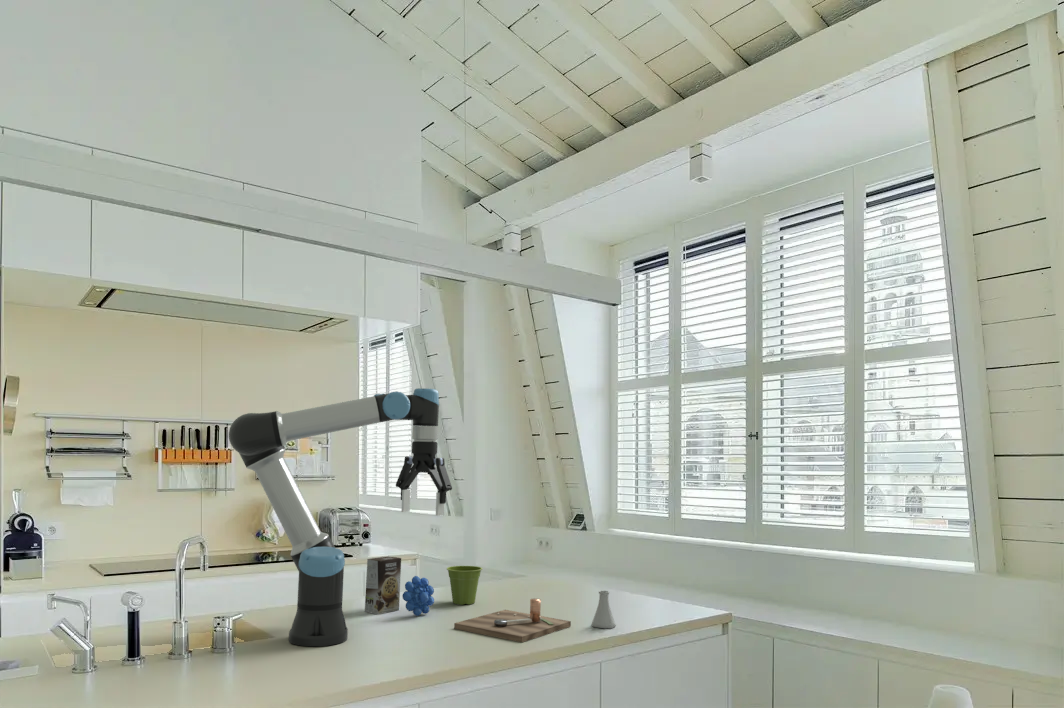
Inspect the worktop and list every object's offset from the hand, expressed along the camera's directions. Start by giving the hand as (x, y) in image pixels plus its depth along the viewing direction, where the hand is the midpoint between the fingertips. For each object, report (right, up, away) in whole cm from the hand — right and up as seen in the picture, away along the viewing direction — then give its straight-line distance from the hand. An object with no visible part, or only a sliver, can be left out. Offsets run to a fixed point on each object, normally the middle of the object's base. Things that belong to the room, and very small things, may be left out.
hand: (422, 513), depth 239 cm
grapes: (-2, -33, +7) cm, 34 cm away
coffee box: (-14, -33, +14) cm, 39 cm away
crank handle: (+28, -30, -6) cm, 42 cm away
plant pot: (+10, -35, +29) cm, 46 cm away
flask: (+53, -33, 0) cm, 63 cm away
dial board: (+27, -32, -4) cm, 42 cm away
